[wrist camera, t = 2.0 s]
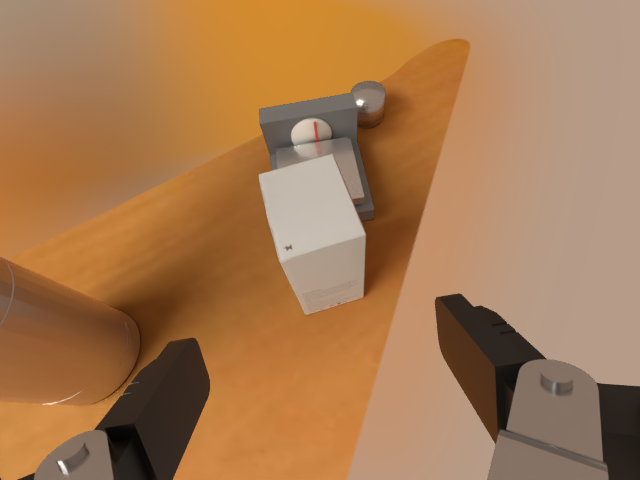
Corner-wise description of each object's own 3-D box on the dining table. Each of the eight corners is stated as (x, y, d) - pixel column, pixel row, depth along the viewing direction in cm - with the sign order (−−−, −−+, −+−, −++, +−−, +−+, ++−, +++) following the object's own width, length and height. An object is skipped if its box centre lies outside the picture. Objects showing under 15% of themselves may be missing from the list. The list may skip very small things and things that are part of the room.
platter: (283, 216, 36) (280, 210, 35) (277, 156, 40) (275, 149, 39) (364, 203, 36) (364, 197, 35) (350, 143, 40) (349, 136, 39)
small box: (365, 298, 33) (369, 236, 22) (305, 317, 33) (277, 264, 22) (340, 232, 37) (333, 150, 26) (286, 248, 37) (255, 173, 26)
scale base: (279, 234, 38) (264, 199, 32) (272, 151, 44) (258, 108, 38) (373, 219, 38) (376, 180, 31) (353, 137, 44) (353, 92, 38)
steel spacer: (354, 131, 45) (353, 106, 41) (348, 109, 47) (347, 84, 43) (386, 125, 44) (388, 100, 41) (379, 104, 47) (381, 78, 43)
